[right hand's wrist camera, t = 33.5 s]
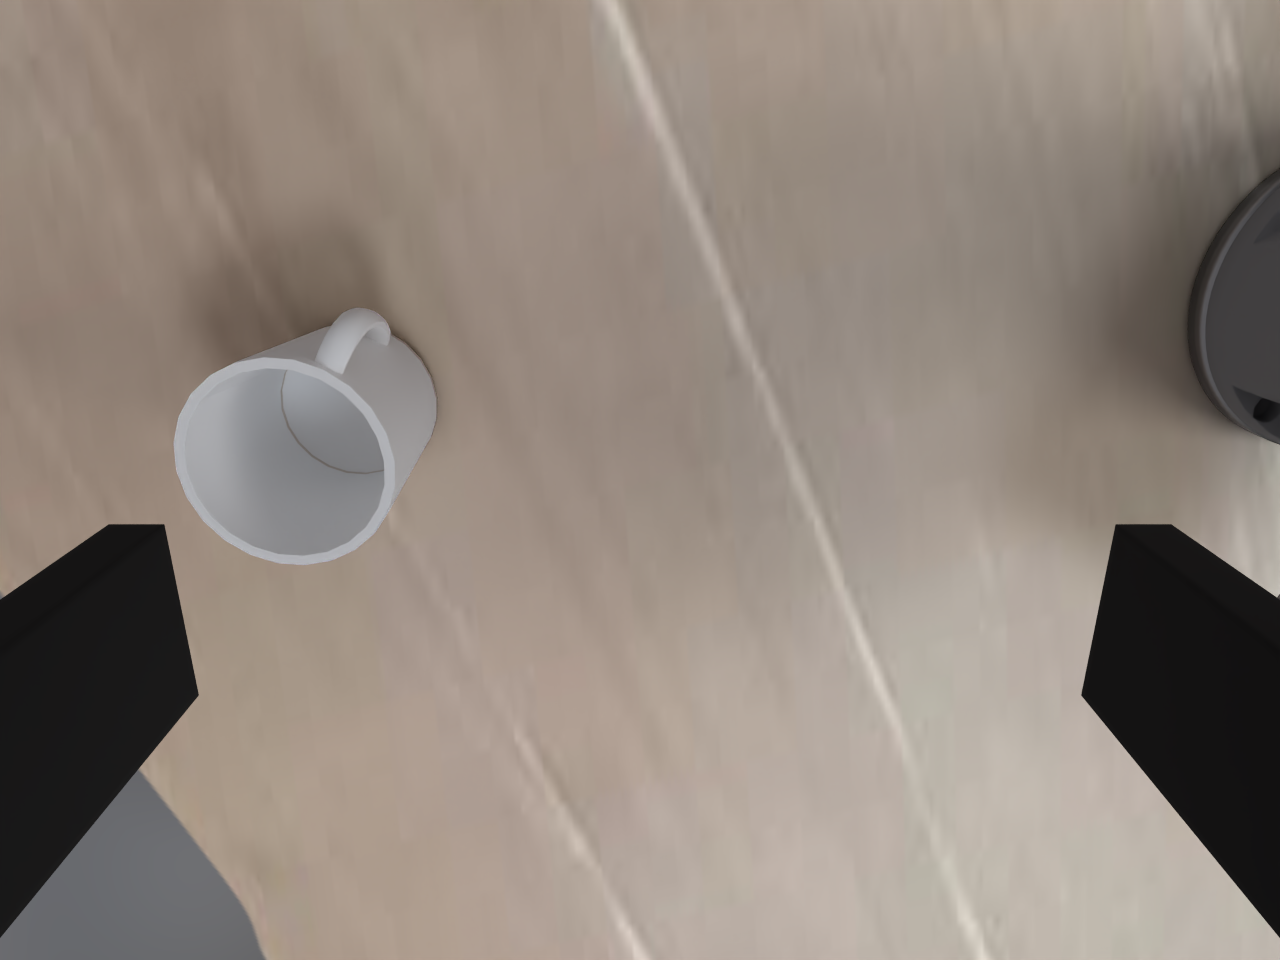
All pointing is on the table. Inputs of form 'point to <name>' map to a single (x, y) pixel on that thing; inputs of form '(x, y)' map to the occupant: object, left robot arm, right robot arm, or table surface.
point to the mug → (307, 440)
